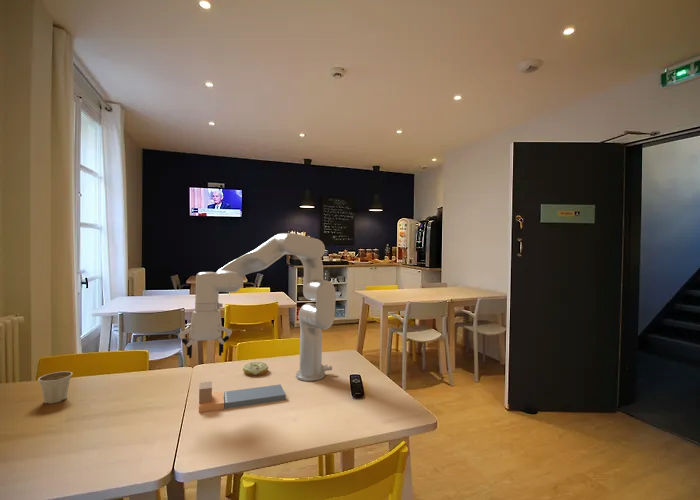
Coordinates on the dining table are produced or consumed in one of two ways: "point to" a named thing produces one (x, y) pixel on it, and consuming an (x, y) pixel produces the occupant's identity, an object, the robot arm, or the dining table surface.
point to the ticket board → (253, 396)
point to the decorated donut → (255, 368)
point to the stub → (209, 398)
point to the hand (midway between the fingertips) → (205, 355)
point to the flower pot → (55, 386)
